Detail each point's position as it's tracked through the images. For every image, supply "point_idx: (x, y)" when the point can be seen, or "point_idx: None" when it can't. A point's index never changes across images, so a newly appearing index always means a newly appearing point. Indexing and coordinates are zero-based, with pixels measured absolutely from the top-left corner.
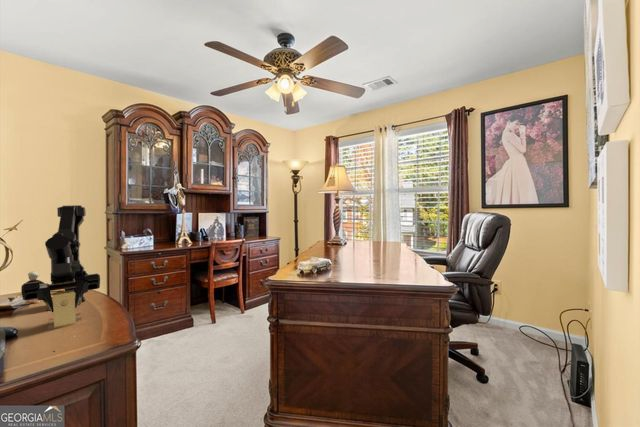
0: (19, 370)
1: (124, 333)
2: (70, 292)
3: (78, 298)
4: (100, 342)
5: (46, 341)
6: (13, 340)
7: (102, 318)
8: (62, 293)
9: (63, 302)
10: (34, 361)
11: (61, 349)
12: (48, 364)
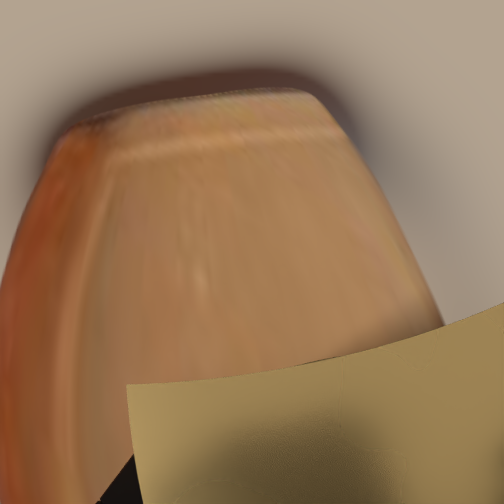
0: (309, 114)
1: (46, 193)
2: (229, 383)
3: (129, 465)
4: (121, 159)
5: (319, 287)
6: None
7: (80, 500)
8: (419, 369)
9: (320, 360)
10: (293, 135)
11: (235, 167)
12: (251, 107)
